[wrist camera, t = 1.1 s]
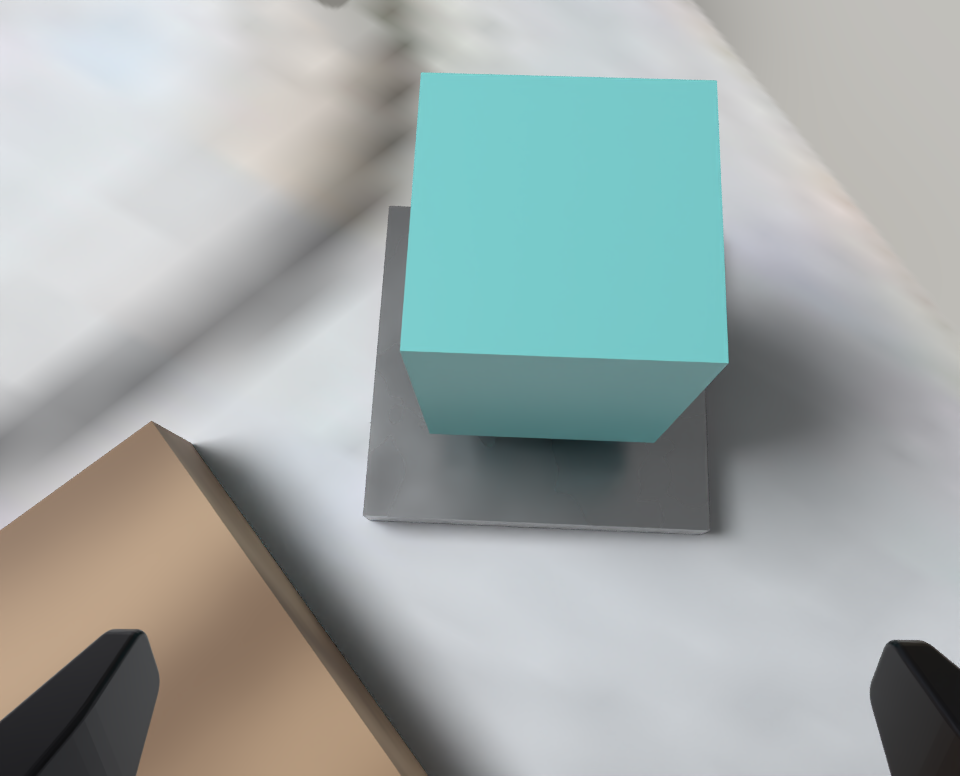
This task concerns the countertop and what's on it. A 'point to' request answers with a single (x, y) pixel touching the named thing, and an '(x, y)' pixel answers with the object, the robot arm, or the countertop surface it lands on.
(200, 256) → the countertop surface
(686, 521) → the post stand
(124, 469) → the board
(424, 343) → the turquoise square block
